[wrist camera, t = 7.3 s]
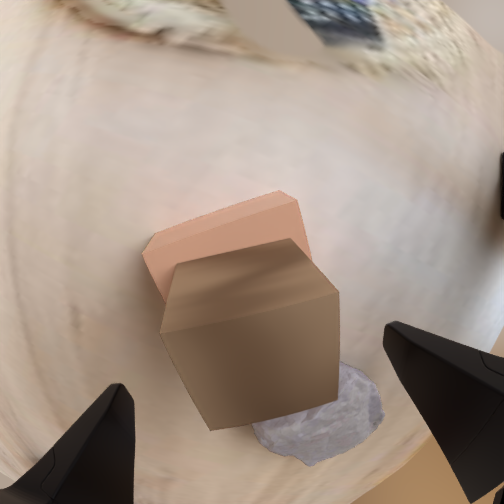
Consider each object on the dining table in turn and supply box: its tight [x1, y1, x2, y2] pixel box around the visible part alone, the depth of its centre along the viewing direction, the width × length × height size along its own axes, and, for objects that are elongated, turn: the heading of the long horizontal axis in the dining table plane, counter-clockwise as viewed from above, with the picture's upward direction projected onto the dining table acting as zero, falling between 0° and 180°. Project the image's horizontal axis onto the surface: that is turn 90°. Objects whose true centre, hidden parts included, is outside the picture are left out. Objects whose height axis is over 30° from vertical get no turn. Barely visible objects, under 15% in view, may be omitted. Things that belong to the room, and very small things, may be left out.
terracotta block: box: [142, 190, 312, 303], centre depth 14 cm, size 7×7×4 cm
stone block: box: [252, 361, 385, 466], centre depth 20 cm, size 12×5×10 cm
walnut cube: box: [159, 238, 340, 431], centre depth 10 cm, size 5×5×5 cm
